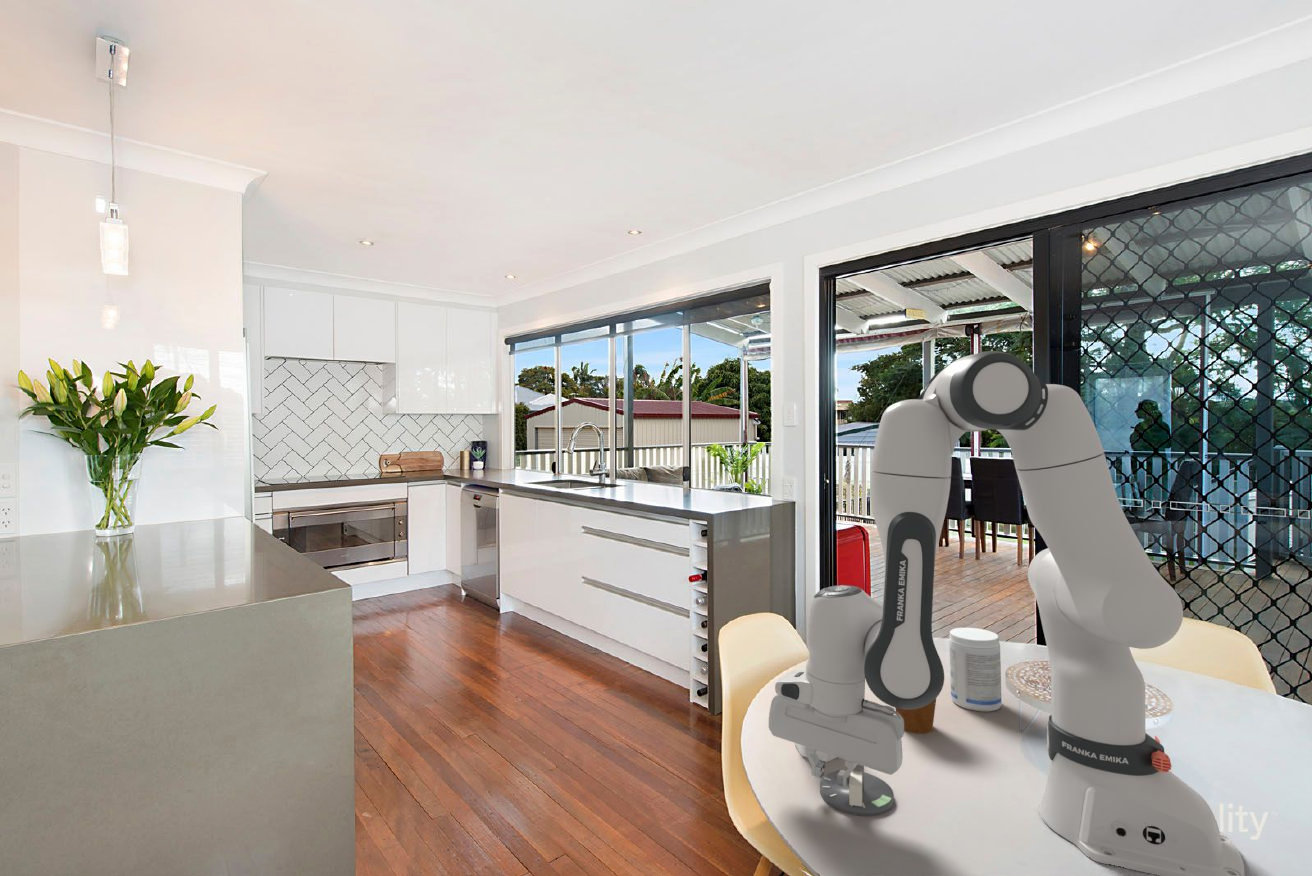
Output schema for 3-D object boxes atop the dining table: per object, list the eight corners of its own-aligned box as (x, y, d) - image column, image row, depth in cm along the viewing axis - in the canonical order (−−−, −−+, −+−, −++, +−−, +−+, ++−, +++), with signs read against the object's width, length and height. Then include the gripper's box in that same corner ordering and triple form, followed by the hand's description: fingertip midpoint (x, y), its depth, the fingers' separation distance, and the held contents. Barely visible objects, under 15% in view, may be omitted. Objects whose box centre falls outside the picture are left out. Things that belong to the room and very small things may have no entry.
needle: (848, 781, 101) (848, 756, 101) (864, 784, 100) (864, 758, 100) (847, 804, 95) (847, 777, 95) (864, 807, 94) (864, 780, 94)
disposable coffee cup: (890, 734, 120) (889, 671, 120) (887, 713, 129) (886, 654, 129) (945, 741, 117) (944, 676, 117) (938, 719, 126) (937, 658, 126)
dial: (901, 791, 101) (901, 782, 101) (882, 826, 92) (882, 817, 92) (833, 770, 107) (833, 762, 107) (809, 802, 98) (809, 793, 98)
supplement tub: (1010, 705, 132) (1009, 634, 132) (987, 718, 126) (986, 644, 126) (964, 690, 140) (963, 624, 140) (940, 701, 134) (940, 632, 134)
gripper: (910, 703, 94) (906, 795, 95) (782, 669, 106) (779, 751, 106) (899, 718, 89) (895, 815, 90) (765, 680, 101) (762, 767, 101)
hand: (831, 780), depth 98 cm, fingers open, 3 cm apart
